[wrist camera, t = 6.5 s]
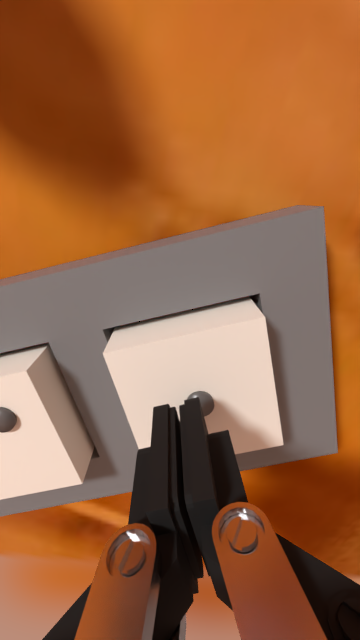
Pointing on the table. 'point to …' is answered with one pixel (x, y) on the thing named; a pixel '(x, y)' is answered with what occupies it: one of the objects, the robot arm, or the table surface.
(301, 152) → the table surface
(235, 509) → the robot arm
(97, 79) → the table surface
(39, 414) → the tile
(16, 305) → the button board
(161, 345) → the tile
